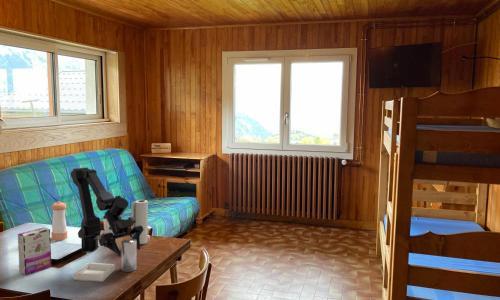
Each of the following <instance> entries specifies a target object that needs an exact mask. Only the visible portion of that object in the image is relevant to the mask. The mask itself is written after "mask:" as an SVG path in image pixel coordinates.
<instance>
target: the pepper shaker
mask: <svg viewBox="0 0 500 300" xmlns="http://www.w3.org/2000/svg"><path fill="white" fill-rule="evenodd" d="M50 209H51V210H52V223H51V231H50V239H51V241H63V240H66V239H68V230H67V221H66V209H67V204H66V203H65V202H61V201H56V202H54V203H52V205H51V206H50Z"/></svg>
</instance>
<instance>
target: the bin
mask: <svg viewBox="0 0 500 300" xmlns="http://www.w3.org/2000/svg"><path fill="white" fill-rule="evenodd" d="M115 270H116V264H114V263H103V262H102V263H100V262H87V263H85V265H83V266H81V268H79V269H78V270H76V272H74V273H73V281H80V282H81V281H83V282H98V283H103V282H104V281H105V280H106V279H108V277H109V276H110V275H112V273H113V272H114V271H115Z"/></svg>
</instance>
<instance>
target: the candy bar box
mask: <svg viewBox="0 0 500 300" xmlns="http://www.w3.org/2000/svg"><path fill="white" fill-rule="evenodd" d="M51 241H52V239H51V228H48V227H45V226H44V227H39V228H35V229H32V230H28V231H24V232H21V233H17V247H18V267H19V270H18V271H19V273H20V274H21V275H24V276H27V275H31V274H33V273H36V272H37V273H38V272H40V271H43V270H45V269H48V268H50V267H52V248H51V247H52V246H51V243H52V242H51Z"/></svg>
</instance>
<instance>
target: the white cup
mask: <svg viewBox="0 0 500 300" xmlns="http://www.w3.org/2000/svg"><path fill="white" fill-rule="evenodd" d="M103 217H104V215H103ZM103 217H102V218H103ZM109 227H110V226H109V223H108V221H107V219H103V230H104V234H106V233H110V232H111V233H113V232H112V230H109ZM113 235H114V234H113Z"/></svg>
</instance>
